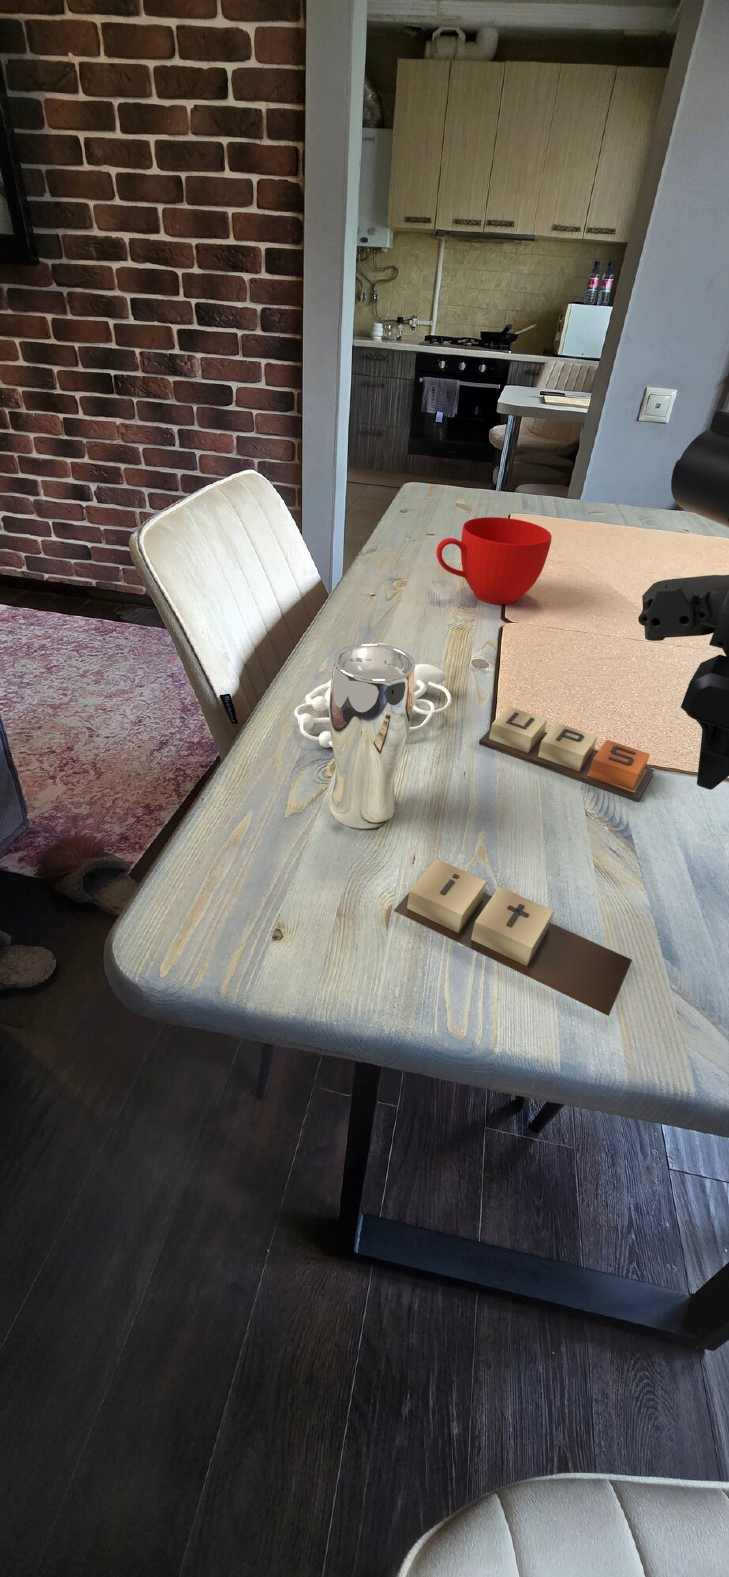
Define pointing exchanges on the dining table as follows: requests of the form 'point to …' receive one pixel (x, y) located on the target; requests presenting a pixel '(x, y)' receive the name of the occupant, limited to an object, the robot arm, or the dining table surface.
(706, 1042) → the dining table surface
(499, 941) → the front word
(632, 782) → the s tile
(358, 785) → the beer glass
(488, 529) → the ceramic cup
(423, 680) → the tangled rod sculpture
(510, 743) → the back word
